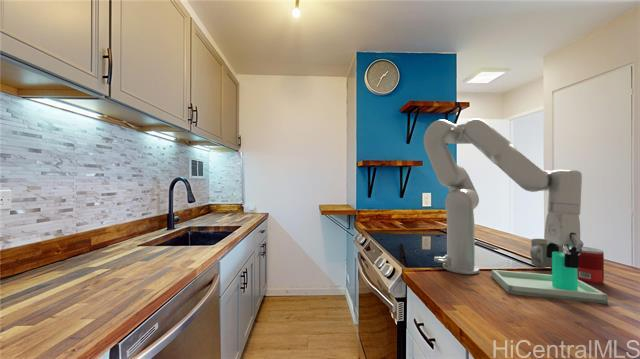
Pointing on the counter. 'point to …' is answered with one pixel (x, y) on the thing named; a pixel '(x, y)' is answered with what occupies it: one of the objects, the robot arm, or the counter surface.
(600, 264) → the canned food
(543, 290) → the tray
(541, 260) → the coffee mug
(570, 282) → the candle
